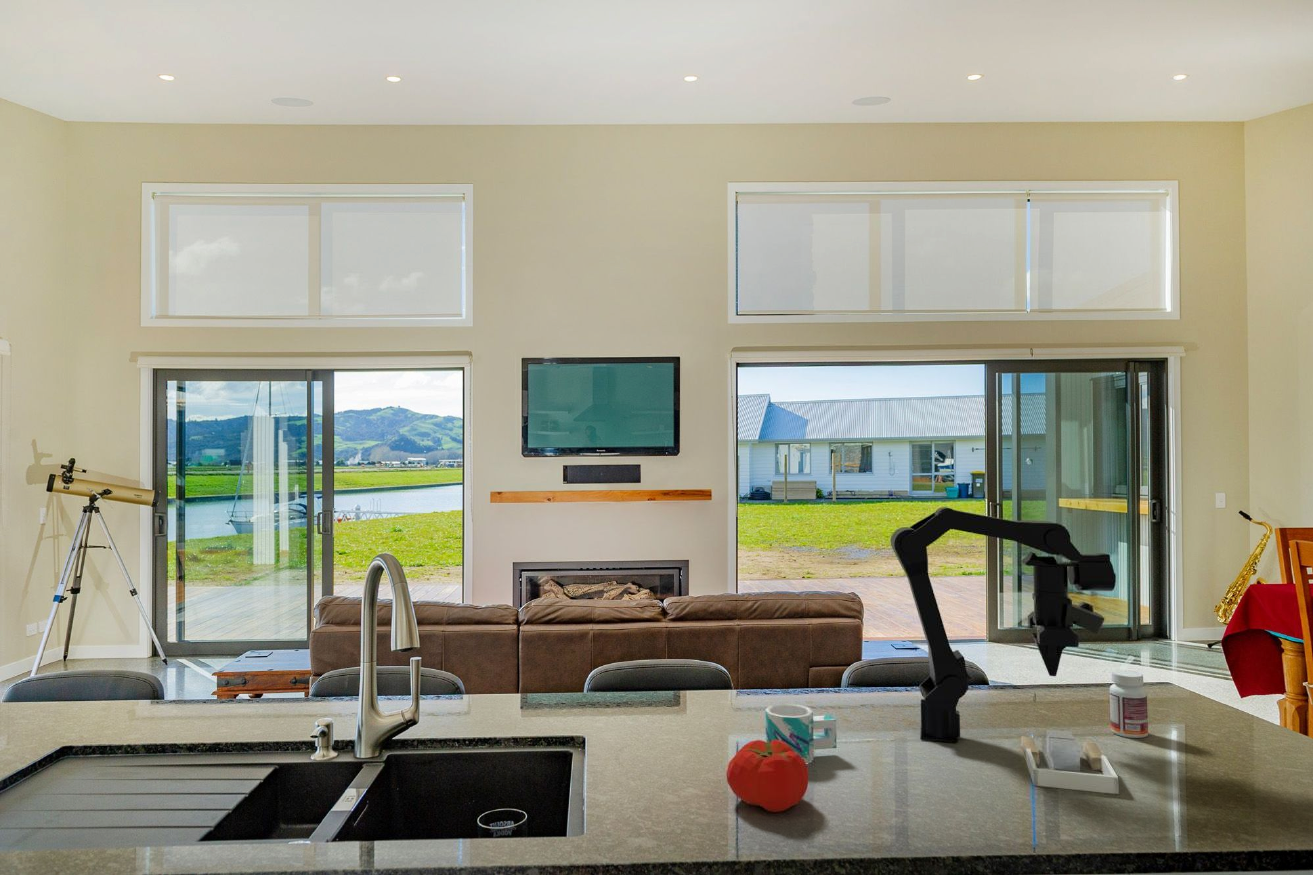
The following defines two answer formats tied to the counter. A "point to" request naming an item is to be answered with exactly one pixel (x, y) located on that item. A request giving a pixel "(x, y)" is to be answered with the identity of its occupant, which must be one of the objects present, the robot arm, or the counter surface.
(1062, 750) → the chip near
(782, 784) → the tomato
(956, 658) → the robot arm
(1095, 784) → the chip tray
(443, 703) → the counter surface
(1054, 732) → the block
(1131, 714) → the pill bottle
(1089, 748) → the slot rails
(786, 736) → the mug
